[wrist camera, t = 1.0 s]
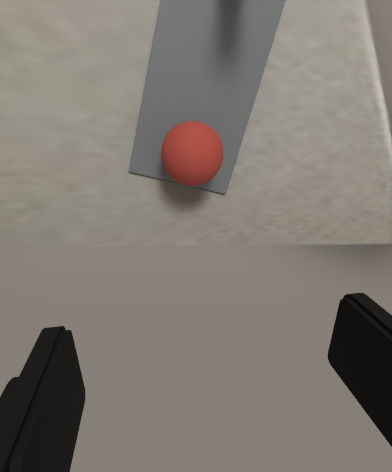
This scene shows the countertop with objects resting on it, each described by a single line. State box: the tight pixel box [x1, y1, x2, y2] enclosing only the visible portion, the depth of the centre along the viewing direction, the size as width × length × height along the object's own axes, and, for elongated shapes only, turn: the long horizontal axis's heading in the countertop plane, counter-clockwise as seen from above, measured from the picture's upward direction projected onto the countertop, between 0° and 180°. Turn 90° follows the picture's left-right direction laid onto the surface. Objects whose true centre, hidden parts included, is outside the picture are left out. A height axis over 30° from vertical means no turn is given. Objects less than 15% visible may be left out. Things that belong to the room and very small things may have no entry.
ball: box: [161, 121, 223, 186], centre depth 27 cm, size 6×6×6 cm
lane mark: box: [129, 0, 285, 194], centre depth 27 cm, size 24×11×1 cm, turn 165°
